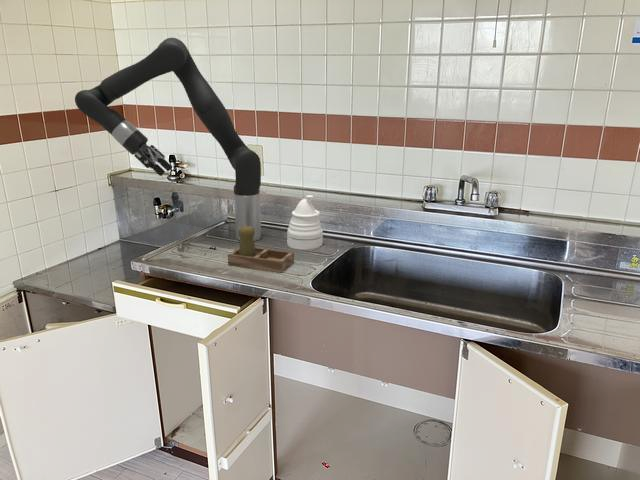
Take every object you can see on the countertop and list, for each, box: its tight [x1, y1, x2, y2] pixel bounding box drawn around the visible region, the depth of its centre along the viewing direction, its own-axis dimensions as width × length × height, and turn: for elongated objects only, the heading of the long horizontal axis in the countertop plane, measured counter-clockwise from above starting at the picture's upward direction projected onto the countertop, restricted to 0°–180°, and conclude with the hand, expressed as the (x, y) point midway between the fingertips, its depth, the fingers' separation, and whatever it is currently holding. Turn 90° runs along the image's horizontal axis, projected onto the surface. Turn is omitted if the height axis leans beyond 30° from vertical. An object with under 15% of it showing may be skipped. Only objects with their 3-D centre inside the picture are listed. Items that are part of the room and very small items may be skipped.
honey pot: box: [286, 194, 324, 251], centre depth 183 cm, size 13×13×18 cm
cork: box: [238, 226, 256, 257], centre depth 165 cm, size 6×6×11 cm
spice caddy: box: [227, 246, 295, 274], centre depth 165 cm, size 10×19×4 cm, turn 70°
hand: (166, 171), depth 174 cm, fingers open, 8 cm apart
